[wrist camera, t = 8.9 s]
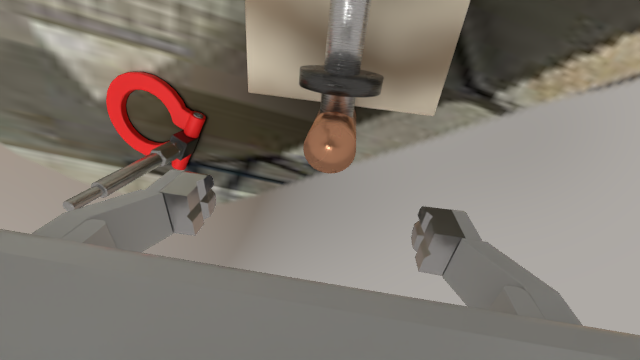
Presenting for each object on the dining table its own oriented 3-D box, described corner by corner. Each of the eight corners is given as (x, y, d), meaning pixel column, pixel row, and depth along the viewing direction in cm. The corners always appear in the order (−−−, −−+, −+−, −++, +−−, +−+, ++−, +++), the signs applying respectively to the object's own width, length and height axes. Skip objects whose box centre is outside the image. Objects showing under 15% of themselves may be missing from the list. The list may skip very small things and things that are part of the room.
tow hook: (109, 125, 28) (187, 172, 29) (-65, 180, 17) (73, 254, 18) (124, 52, 24) (213, 110, 25) (-89, 59, 13) (89, 163, 14)
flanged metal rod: (325, -205, 14) (300, -388, 8) (435, -199, 14) (497, -386, 8) (303, 131, 23) (283, 166, 17) (368, 140, 23) (371, 179, 17)
